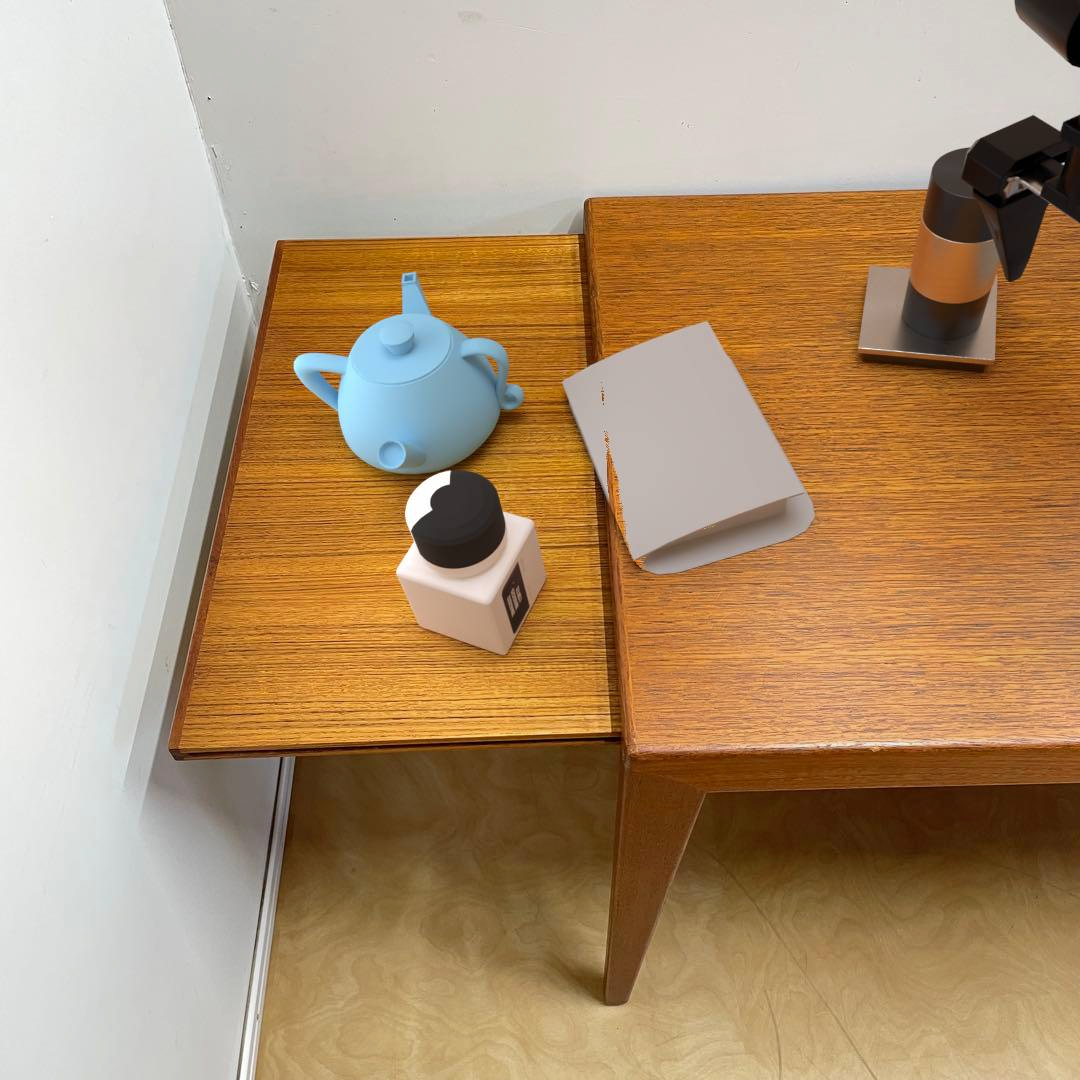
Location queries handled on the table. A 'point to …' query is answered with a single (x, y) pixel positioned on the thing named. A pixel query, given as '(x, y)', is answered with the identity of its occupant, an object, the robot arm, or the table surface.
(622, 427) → the book
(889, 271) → the platform
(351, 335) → the table surface
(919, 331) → the can
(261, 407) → the table surface
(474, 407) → the teapot
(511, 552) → the container
